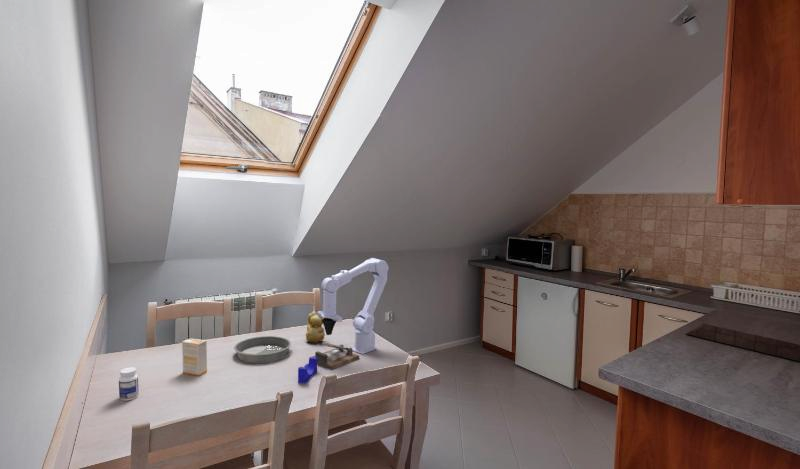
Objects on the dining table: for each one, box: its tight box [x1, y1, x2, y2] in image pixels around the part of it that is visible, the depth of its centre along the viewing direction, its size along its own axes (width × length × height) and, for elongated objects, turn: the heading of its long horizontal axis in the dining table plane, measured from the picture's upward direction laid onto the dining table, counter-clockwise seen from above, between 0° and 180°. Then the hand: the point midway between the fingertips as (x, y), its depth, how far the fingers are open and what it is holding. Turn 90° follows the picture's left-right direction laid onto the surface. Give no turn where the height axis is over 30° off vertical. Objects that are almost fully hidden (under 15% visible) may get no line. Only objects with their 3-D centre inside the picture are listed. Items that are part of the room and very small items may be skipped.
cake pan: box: [233, 335, 292, 364], centre depth 192 cm, size 25×25×4 cm
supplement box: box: [181, 337, 208, 377], centre depth 169 cm, size 8×5×13 cm, turn 71°
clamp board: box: [312, 344, 360, 370], centre depth 187 cm, size 17×14×5 cm
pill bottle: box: [118, 366, 140, 402], centre depth 147 cm, size 6×6×10 cm
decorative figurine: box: [305, 310, 326, 344], centre depth 209 cm, size 10×8×15 cm
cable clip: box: [297, 356, 318, 384], centre depth 169 cm, size 12×4×6 cm, turn 169°
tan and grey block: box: [321, 341, 349, 351], centre depth 188 cm, size 14×4×1 cm, turn 143°
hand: (329, 334), depth 189 cm, fingers closed
